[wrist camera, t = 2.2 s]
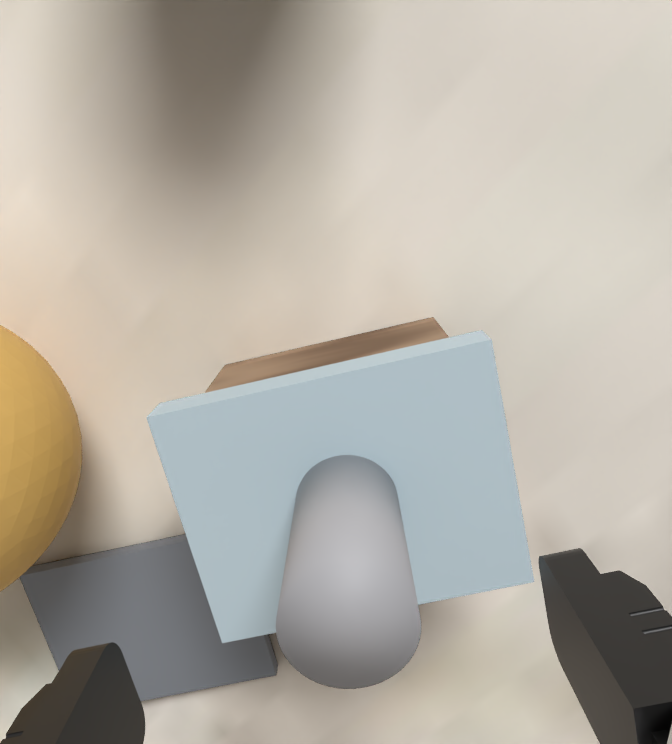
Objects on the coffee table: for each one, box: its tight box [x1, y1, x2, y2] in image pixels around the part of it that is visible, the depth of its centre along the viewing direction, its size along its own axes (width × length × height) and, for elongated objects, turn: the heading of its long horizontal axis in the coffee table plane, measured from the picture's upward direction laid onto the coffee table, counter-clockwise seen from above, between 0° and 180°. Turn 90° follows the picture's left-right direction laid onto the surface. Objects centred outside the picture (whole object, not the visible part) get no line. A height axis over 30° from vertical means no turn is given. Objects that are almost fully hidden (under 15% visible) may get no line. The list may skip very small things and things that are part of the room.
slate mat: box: [20, 534, 278, 701], centre depth 26 cm, size 9×7×1 cm
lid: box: [146, 330, 534, 689], centre depth 15 cm, size 9×7×7 cm
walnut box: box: [205, 317, 449, 393], centre depth 21 cm, size 8×6×6 cm
